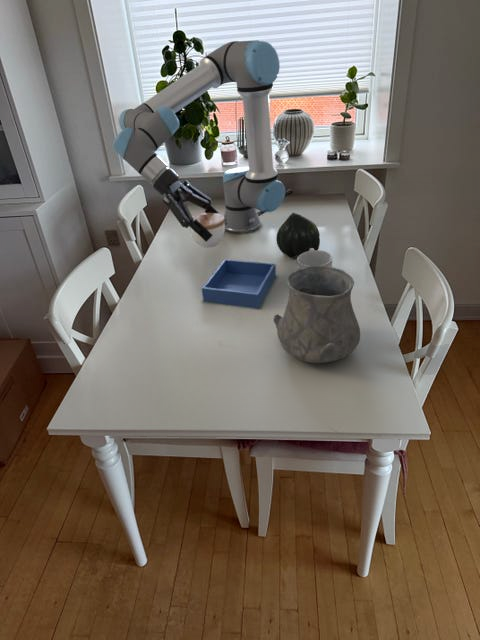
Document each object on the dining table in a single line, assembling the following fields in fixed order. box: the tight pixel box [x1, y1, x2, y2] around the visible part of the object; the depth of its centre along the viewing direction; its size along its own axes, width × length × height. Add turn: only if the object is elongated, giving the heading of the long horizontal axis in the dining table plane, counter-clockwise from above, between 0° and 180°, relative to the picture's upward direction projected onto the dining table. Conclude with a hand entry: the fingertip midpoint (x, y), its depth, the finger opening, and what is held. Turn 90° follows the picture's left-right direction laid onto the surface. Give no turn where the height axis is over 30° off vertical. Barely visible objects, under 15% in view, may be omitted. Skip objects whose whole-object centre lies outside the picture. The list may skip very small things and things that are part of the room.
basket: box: [201, 258, 277, 310], centre depth 141 cm, size 20×18×5 cm
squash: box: [275, 212, 321, 259], centre depth 157 cm, size 14×15×15 cm
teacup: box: [296, 248, 333, 270], centre depth 143 cm, size 14×11×8 cm
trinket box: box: [188, 212, 226, 249], centre depth 134 cm, size 11×11×9 cm
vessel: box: [273, 266, 361, 364], centre depth 110 cm, size 22×22×20 cm
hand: (216, 230), depth 134 cm, fingers closed on trinket box, 11 cm apart
